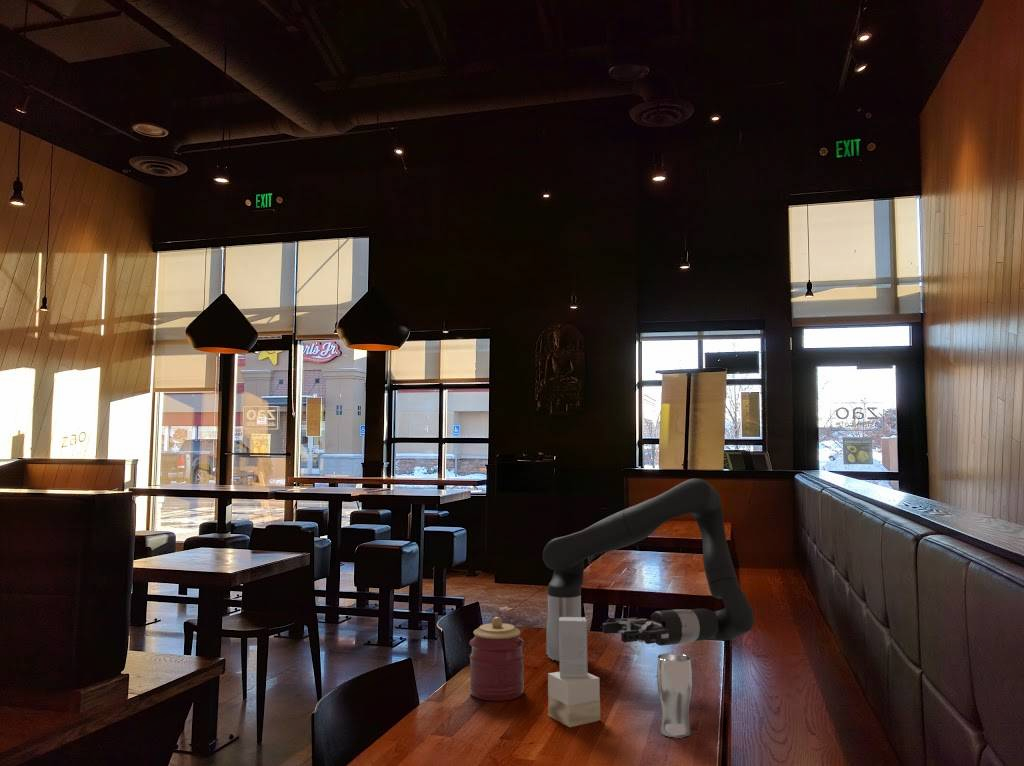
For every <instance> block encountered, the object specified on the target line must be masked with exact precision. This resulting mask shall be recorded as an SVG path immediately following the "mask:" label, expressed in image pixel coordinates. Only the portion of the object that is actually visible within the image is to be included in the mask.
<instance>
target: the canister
mask: <svg viewBox="0 0 1024 766" xmlns="http://www.w3.org/2000/svg"><path fill="white" fill-rule="evenodd" d="M472 633H473V635H474V637H473V638H471V639H470V640H469V645H470V646H471V653H470V654H469V659H470V661H469V662H470V666H469V667H470V668H469V669H470V671H469V672H470V673H469V676H470V677H469V683H468V684H469V686H468V687H469V692H470V695H472V696H473V697H474V698H476V699H478V700H479V699H480V700H483V701H492V702H497V701H498V702H499V701H500V702H501V701H511V700H514V699H517V698H519V697H521V696H522V695H523V694H524V689H525V685H524V684H525V681H524V660H525V656H524V654H523V649H522V648H523V646H524V645H525V641H524V640H523V639H522V638H521V637H520V635H521V630H520V629H518V628H516V627H515V626H514V625H513V624H510V623H503V619H502V617H499V616H494V617H493V618H492V619H491V622H490V623H484V624H481V625H480V626H478V628H476V629H474V630H473V632H472Z"/></svg>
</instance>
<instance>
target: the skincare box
mask: <svg viewBox="0 0 1024 766" xmlns="http://www.w3.org/2000/svg"><path fill="white" fill-rule="evenodd" d="M559 655H560V661H559V672H560V678H587V677H588V673H589V672H588V670H589V667H588V621H587V618H586V617H585V616H583V617H582V616H581V617H559Z"/></svg>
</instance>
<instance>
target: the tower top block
mask: <svg viewBox="0 0 1024 766" xmlns="http://www.w3.org/2000/svg"><path fill="white" fill-rule="evenodd" d="M600 680H601V679H600V677H598V676H595V675H594V674H591V673H589V672H588V677H587V678H560V671H556V672H555V671H554V672H548V673H547V696H548V695H549V696H551V697H553V698H555V699H557V700H559V701H561V702H562V703H564V704H566V705H568V706H569V705H574V704H579V703H585V702H590V701H596V700H600V701H601V699H600V696H601V695H600V694H601V692H600V688H601V687H600Z"/></svg>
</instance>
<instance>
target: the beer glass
mask: <svg viewBox="0 0 1024 766" xmlns="http://www.w3.org/2000/svg"><path fill="white" fill-rule="evenodd" d="M691 663H692V662H691V657H690V656H688V655H685V654H682V653H669V652H668V653H661V654H659V655H657V666H656V667H657V669H656V682H657V683H656V684H657V691H658V696H659V702H660V707H661V723H660V729H659V732H661V733H660V734H661V735H662V734H663V735H662V736H664V735H665V737H666V736H668V737H667V738H669V737H674V738H673V739H676V737H677V738H679V737H686V736H689V735H690V736H691V727H690V721H689V711H690V710H689V709H690V702H691V697H692V689H693V688H692V687H693V675H692V674H693V673H692V664H691ZM690 736H689V737H690Z"/></svg>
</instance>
